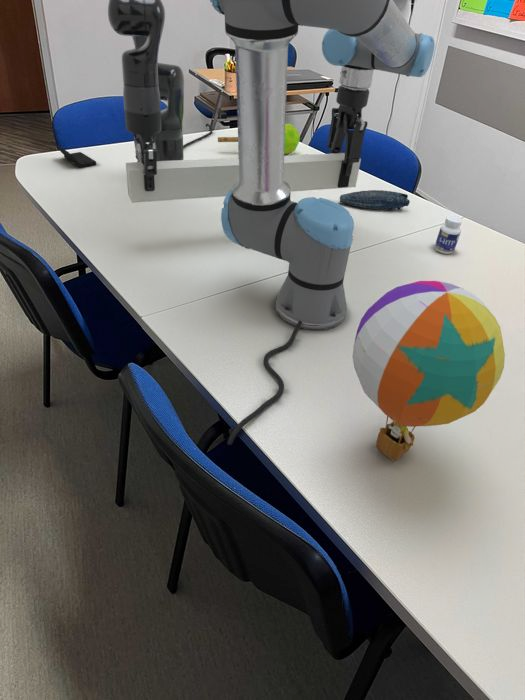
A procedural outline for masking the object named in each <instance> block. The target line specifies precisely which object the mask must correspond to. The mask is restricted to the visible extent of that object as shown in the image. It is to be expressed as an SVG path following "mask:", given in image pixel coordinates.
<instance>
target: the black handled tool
mask: <svg viewBox="0 0 525 700" xmlns="http://www.w3.org/2000/svg"><path fill="white" fill-rule="evenodd" d="M52 145H53V146H54V147H55V148H56V149H57V150H58V151H59V152H60V153H62V154H63V157H64V158H65V160H67V161H69V162H71V163H72V164H73V165H74V166H76V167H78V168H85V167H90V166H96V165H97V161H96V160H94V159H93V158H91V157H89V156H88V155H86V154H85V153H84V152H82V151H78V152H77V151H76V152H73V153H70V152H69V151H67V149H65V148H63V147H62V146H60V145H58V144H57V143H55V142H52Z"/></svg>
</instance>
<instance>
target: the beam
mask: <svg viewBox="0 0 525 700" xmlns="http://www.w3.org/2000/svg"><path fill="white" fill-rule="evenodd" d="M344 158H345V152H342V153H334V154H331V153H316V154H315V153H314V154H313V153H312V154H291V155H289V154H288V155H284V177H283V179H284V180H285V181H286V182H287V183H288V184H289V185H290V189H291V192H306V191H319V190H321V191H323V190H332V189H333V190H335V189H348V188H350V189H351V188H356V186H357V182H358V177H359V171H360V166H361V161H362V158H360V159H359V162H357V163H353V166H352V171H351V175H350V179H349V184H348V187H341V188H339V187H338V182H339V176H340V171H341V165H342V161H343V160H344ZM148 169H152V167H151V166H148ZM125 172H126V174H125V175H126V183H127V184H126V186H127V195H128V197H129V199H130V201H131V204H132V203H133V204H135V203H148V202H163V201H176V200H179V201H180V200H191V199H204V198H205V199H206V198H219V197H221V198H222V197H226V195H227V194H228V192H229V191H230V190H231V189H232V186H233V184H234V183H235V182H236V181H237V180H239V157H225V158H223V157H222V158H204V159H203V158H199V159H183V160H175V161H157V175H154V182H155V190H154V191H145V188H144V174H143V167H142V164H140V162H137V161H135V162H133V161H132V162H125Z"/></svg>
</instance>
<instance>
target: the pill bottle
mask: <svg viewBox="0 0 525 700" xmlns="http://www.w3.org/2000/svg"><path fill="white" fill-rule="evenodd" d="M462 222H463V219H461V218H460V217H458V216H455V215H448V216H446V218H445V220H444V223H443V224H442V225H440V228H439V231H438V234H437V237H436V240H435V243H434V250H435V251H437V252H439V253H441V254H447V255H449V254H453V253H454V252H455V250H456V247H457V244H458V242H459V239H460V236H461V233H462V229H461V225H462Z"/></svg>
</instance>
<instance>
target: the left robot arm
mask: <svg viewBox="0 0 525 700" xmlns="http://www.w3.org/2000/svg"><path fill="white" fill-rule="evenodd" d="M107 4H108V5H107V18H108V22H109V25H110V27H111V28H112V30H113V31H114V32H115V33H116V34H118V35H120V36H123V37H132V41H133V45H134V48H130V49H127V50H124V51H123V52H122V54H121V69H122V81H123V91H122V92H123V93H122V94H123V95H122V96H123V97H122V98H123V110H124V122H125V129H126V131H127V132H128V133H130V134H132V135H133V143H134V152H135V158H136V160H137V161H136V162H140V164H142V167H143V174H144V188H145V191H154V190H155V182H154V175H157V161H175V160H184V149H185V147H188V146H189V145H191V144H193V143H195V142H197V141H200V140H203V139H205V138H207V136H210V135H212V133H213V128H212V126H211V125H210V124H209V123H206V124H205V127H208V128H209V130H210V131H209V132H208V133H206V134H204V135H202V136H200V137H198V138H195V139H193V140H191V141H188V142H186V143H185V144H184V122H183V121H184V105H185V104H184V101H185V99H184V97H185V77H184V71H183V69H182V67H180V66H179V65H176V64H172V63H171V64H170V63H163V62H159V51H160V46H161V45H160V44H161V40H162V35H163V32H164V26H165V21H166V10H165V6H164V3H163V1H162V0H108V3H107ZM161 101H166V102H167V105H166V107H167V108H164V109H161V108H162V107H161ZM148 166H151V167H152V169H148Z"/></svg>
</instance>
